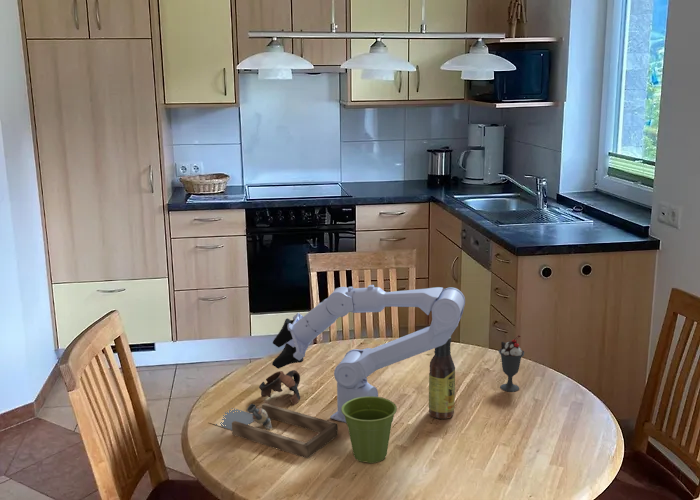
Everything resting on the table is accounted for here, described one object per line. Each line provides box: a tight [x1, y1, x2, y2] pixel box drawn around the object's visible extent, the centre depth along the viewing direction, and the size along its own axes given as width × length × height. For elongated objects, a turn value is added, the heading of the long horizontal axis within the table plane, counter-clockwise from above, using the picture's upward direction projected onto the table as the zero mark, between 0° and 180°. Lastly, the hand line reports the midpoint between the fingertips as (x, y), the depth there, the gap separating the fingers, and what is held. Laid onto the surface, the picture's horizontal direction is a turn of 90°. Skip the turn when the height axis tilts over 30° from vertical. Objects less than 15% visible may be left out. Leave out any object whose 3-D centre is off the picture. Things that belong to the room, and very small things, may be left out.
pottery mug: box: [258, 369, 301, 406], centre depth 187 cm, size 12×10×8 cm
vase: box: [246, 403, 273, 431], centre depth 171 cm, size 5×5×6 cm
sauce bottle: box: [428, 335, 456, 420], centre depth 174 cm, size 7×6×20 cm
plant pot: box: [341, 396, 398, 464], centre depth 157 cm, size 12×12×11 cm
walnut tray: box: [231, 402, 339, 459], centre depth 167 cm, size 21×12×3 cm, turn 58°
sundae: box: [497, 334, 525, 393], centre depth 189 cm, size 7×7×15 cm
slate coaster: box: [215, 407, 255, 431], centre depth 175 cm, size 9×9×1 cm
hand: (275, 355), depth 178 cm, fingers open, 7 cm apart
